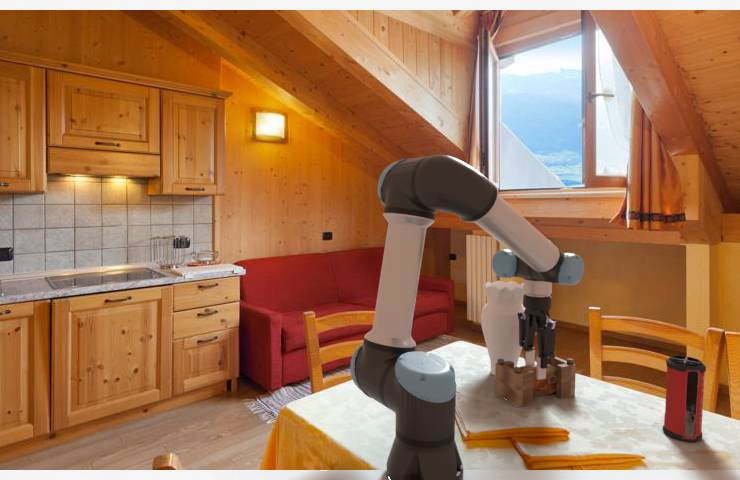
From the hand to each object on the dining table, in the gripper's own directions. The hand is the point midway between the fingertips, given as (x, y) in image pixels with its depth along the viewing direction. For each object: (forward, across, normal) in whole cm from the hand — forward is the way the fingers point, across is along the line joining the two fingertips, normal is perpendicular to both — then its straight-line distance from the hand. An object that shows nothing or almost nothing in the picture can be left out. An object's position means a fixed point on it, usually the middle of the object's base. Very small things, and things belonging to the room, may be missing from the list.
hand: (535, 375), depth 130 cm
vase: (+6, +17, -2) cm, 18 cm away
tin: (+6, 0, 0) cm, 6 cm away
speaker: (+6, -31, -16) cm, 35 cm away
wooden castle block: (+6, 0, 0) cm, 6 cm away
